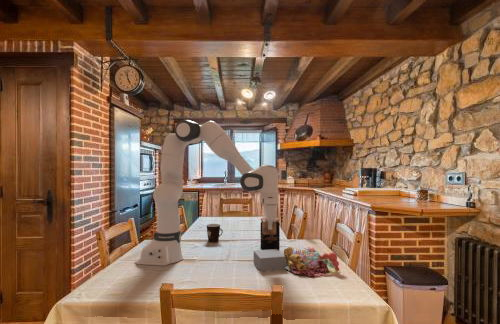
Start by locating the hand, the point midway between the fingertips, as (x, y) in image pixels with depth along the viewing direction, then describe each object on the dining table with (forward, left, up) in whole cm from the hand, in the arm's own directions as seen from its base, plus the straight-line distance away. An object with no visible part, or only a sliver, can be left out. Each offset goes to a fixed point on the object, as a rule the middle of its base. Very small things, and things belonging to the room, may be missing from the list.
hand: (269, 227), depth 134 cm
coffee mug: (-30, +43, -18) cm, 56 cm away
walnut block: (0, 0, -3) cm, 3 cm away
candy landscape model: (+19, -3, -19) cm, 27 cm away
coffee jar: (+3, +23, -18) cm, 29 cm away
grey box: (0, 0, -18) cm, 18 cm away
